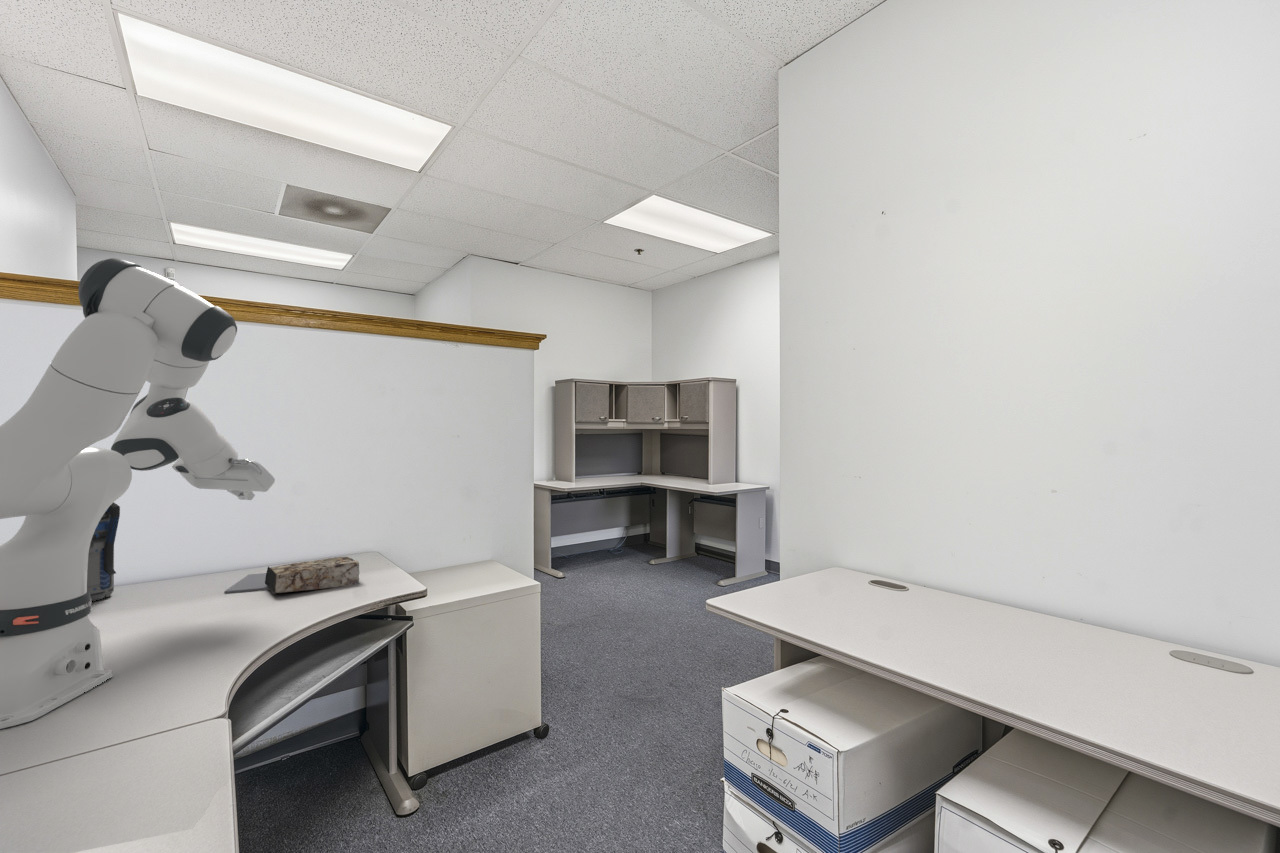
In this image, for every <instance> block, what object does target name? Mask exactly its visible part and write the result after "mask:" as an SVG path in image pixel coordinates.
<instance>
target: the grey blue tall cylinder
mask: <svg viewBox="0 0 1280 853" xmlns="http://www.w3.org/2000/svg"><path fill="white" fill-rule="evenodd" d="M120 513H121V506H120V505H118V504H117V503H116V502H115V501H114V502H113V503H112V504H111V505H110V507H109V508H108V509H107V510H106V512H105V513H104V515H103V516H102V518H101V519H100V521H99V523H98V525H97V527H96V529H95V532H94V534H93V537H92V540H91V543H90V547H89V554H88V569H87V591H88V592H90V598H91V602H92V601H94V602H97V601H96V600H98V601H101V600H103V598H104V599H105V597H106V598H108V597H110V596H111V595H112V594H113V593H114V588H115V586H114V585H115V583H114V582H115V574H117V572H116V571H115V542H116V537H117V531H118V526H119V521H120V517H121V516H120V515H121V514H120ZM100 599H101V600H100ZM92 603H93V602H92Z"/></svg>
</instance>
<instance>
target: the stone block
mask: <svg viewBox="0 0 1280 853" xmlns="http://www.w3.org/2000/svg"><path fill="white" fill-rule="evenodd" d="M265 573H266V578H265V584H266V585H267V586H268V587H269V589H270V590H269V591H270V592H271V593H272V594H273V595H275V594H282V593H292V592H302V591H313V590H323V589H332V588H333V589H334V588H338V587H339V586H340V587H346V586H345V585H347V586H352V585H351V584H353V585H357V584H359V583H360V562H359V560H356V559H355V560H354V559H353V558H352V557H349V556H337V557H336V556H335V557H329V558H323V559H316V560H309V561H302V562H295V563H290V564H289V563H288V564H282V565H277V566H273V567H270V566H267V570H266V572H265ZM356 583H357V584H356ZM340 587H339V588H340Z"/></svg>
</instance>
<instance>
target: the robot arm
mask: <svg viewBox="0 0 1280 853" xmlns="http://www.w3.org/2000/svg"><path fill="white" fill-rule="evenodd" d="M77 293H78V300H79V304H80V305H81V307H82V314H83V317H84V319H83V320H82V321H81V322H80V323H79V324H78V325H77V326H76V327H75V328H74V330H73V331H72V332H71V333H70V334H69V335H68V336H67V338H66V339H65V340H64V342H62V344H61V345H60V347H59V348H58V350H57V352H56V353H55V355H54V356H53V359H52V360H51V362H49V363H50V364H48V367H47V368H46V371H45V372H44V374H43V376H42V377H41V379H40V380H39V382H38V383H37V385H36V386H35V388H34V390H33V392H32V393H31V395H30V396H29V398H28V399H27V400H26V402H25V403H24V405H23V406H22V407H21V408H20V409H19V410H18V411H17V412H15V413H14V414H13V415H12V416H11V417H10V418H9V419H8V420H6V421H5V422H3V424H1V425H0V520H4V519H11V518H20V517H25V518H24V519H23V523H22V525H21V526H20V528H19V529H18V530H17V532H16V533H15V534H14V535H13V536H12V537H11V538H10V539H9V540H8V541H6V542H5V543H3V544H2V545H1V544H0V730H1V729H5V728H9V727H10V728H11V727H14V726H17V725H22V724H25V723H28V722H31V721H34V720H36V719H39V718H40V717H42V716H44V715H46V714H48V713H49V712H52V711H53V710H54V709H57V708H58V707H60V706H62V705H64V704H66V703H68V702H71V700H74V699H76V698H77V697H79V696H81V695H83V694H85V693H86V692H88V691H90V690H92V689H94V688H96V687H97V685H98V686H99V685H101V684H103V683H105V682H107V681H108V680H107V679H109V678H111V677H112V676H114V675H113V671H112V670H111V669H105V668H104V661H103V659H104V658H103V651H102V641H101V632H100V629H99V628H98V627H97V626H96V625H94V624H93V622H92V621H91V620H90V618H89V616H88V615H90V613H91V612H92V611H91V610H92V609H91V608H92V607H91V606H92V603H93V602H91V598H90V592H88V591H87V569H88V554H89V547H90V543H91V540H92V537H93V534H94V532H95V529H96V527H97V525H98V523H99V521H100V519H101V518H102V516H103V515H104V513H105V512H106V510H107V509H108V508H109V507H110V505H111V504H112V503H113V502H114V503H115V502H116V501H117V500H118V499H119V498H121V497H122V496H123V495H124V494H125V493H126V492H127V491H128V490H129V488H130V485H131V482H132V479H133V478H132V477H133V472H132V470H133V471H134V470H136V471H140V472H143V471H147V472H148V471H152V470H153V471H154V470H156V469H159V468H162V467H165V466H167V465H170V464H172V463H174V464H172V465H171V467H172V469H173V470H174V471H175V472H177V473H179V474H180V475H181V477H182V478H184V480H185V481H186V482H188V483H189V484H190V485H191V486H193V487H194V488H197V489H199V490H201V489H203V490H219V491H220V490H222V491H223V490H224V491H227V492H228V493H230V494H232V495H234V496H235V497H237V498H238V499H239V500H240V501H241V500H243V501H253V499H254V497H255V495H256V494H255V493H254V492H261V493H262V492H263V493H264V492H265V493H266V492H268V491H269V490H270V489H271V487H272V486H273V484H275V479H276V478H275V477H274V476H273V475H272V474H271V473H270V472H269V470H268V469H267V468H266V467H264V466H263V465H262V463H260V462H258V461H255V460H250V459H248V458H243V459H241V458H239V454H238V452H237V450H236V449H235V448H234V447H233V446H232V445H231V443H230V442H229V441H228V439H227V438H225V437H224V435H223V434H220V433H219V432H218V431H217V428H216V426H215V424H214V423H213V422H212V420H211V419H209V417H208V416H207V415H206V414H205V413H204V412H203V411H202V410H201V409H200V408H199V407H198V406H197V405H195V403H193V402H191V401H190V400H188V399H186V396H187V393H188V389H190V388H193V387H195V386H196V385H197V384H198V383H199V381H200V380H201V379H202V377H203V375H204V374H205V373H206V370H207V368H208V366H209V364H210V362H211V361H215V360H218V359H219V358H221V356H223V355H224V354H225V353H226V352H228V350H230V348H231V347H232V345H233V344H234V342H235V338H236V335H237V333H238V325H237V323H236V320H235V319H234V317H233V316H232V315H231V314H229V312H227V311H226V310H224V309H223V308H222V307H220V306H218V305H214V304H212V303H211V302H209V301H207V300H206V299H204V297H202V296H199V295H198V294H197V293H195V292H193V291H191V290H189V289H187V288H185V287H184V286H183V285H182V284H179V282H178V283H177V282H176V281H173V280H171V279H169V278H167V277H164V276H162V275H161V274H157V273H155V272H152V271H150V270H147V269H145V268H143V267H142V266H141V265H140V264H137V263H134V262H131V261H128V260H124V259H121V258H118V257H117V258H116V257H111V258H107V259H106V258H105V259H103V260H99V261H97V262H96V263H94V264H93V265H91V266H90V267H88V269H87V270H86V271H85V272H84V273H83V275H82V277H81V279H80V281H79V284H78V290H77ZM146 382H148V383H149V388H148V392H147V394H146V395H145V396H143V397H142V398H141V399H140V400H138V401H137V402H136V399H137V398H138V396H139V395H140V393H141V392H142V389H143V387H144V385H145V383H146ZM135 402H136V403H135ZM130 410H131V411H130ZM128 414H129V415H128ZM127 416H128V418H127ZM126 418H127V419H126ZM125 419H126V421H125ZM124 421H125V422H124ZM123 423H124V424H123ZM122 425H123V426H122ZM121 426H122V427H121ZM120 428H121V429H120ZM119 429H120V430H119ZM118 430H119V432H118ZM116 432H118V434H117V435H116V437H115V439H114V440H113V443H112V445H111V447H110V449H109V448H108V449H107V448H102V447H98V446H97V447H96V446H92V445H93V444H96V443H97V442H100V441H103V440H105V439H107V438H109V437H110V436H112V435H113V434H114V433H116ZM112 678H113V677H112ZM112 678H111V679H112ZM106 680H107V681H106ZM109 680H110V679H109ZM104 681H105V682H104ZM102 682H103V683H102ZM95 686H96V687H95ZM93 687H94V688H93ZM84 692H85V693H84Z"/></svg>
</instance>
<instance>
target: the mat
mask: <svg viewBox="0 0 1280 853" xmlns="http://www.w3.org/2000/svg"><path fill="white" fill-rule="evenodd" d="M266 573H267V572H264V573H263V572H262V573H261V572H260V573H249V574H247V575H246V576H245V577H243V578H241V579H240V580H238V581H237V582H236V583H234V584H232V585H231V586H230V587H229V588H227V589H226V590H223V591H224V593H226V594H235V593H234V592H238V593H246V592H245V591H249V592H257V591H256V590H261V591H270V590H269V587H268V586H267V585H266V584H265V578H266Z"/></svg>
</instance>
